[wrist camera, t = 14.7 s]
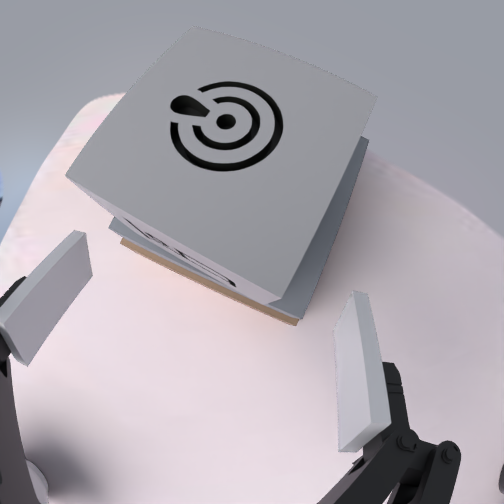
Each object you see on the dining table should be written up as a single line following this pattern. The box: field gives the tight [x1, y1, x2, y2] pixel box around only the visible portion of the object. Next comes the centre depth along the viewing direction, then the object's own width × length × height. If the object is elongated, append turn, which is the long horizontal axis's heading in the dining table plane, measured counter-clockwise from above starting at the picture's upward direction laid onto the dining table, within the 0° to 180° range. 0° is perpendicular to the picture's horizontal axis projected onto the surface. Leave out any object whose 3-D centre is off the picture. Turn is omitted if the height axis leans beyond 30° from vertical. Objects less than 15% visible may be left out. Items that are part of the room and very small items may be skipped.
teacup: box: [26, 460, 49, 504], centre depth 18 cm, size 12×15×10 cm
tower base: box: [109, 136, 369, 326], centre depth 26 cm, size 16×16×8 cm
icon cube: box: [65, 26, 377, 305], centre depth 16 cm, size 10×10×10 cm
